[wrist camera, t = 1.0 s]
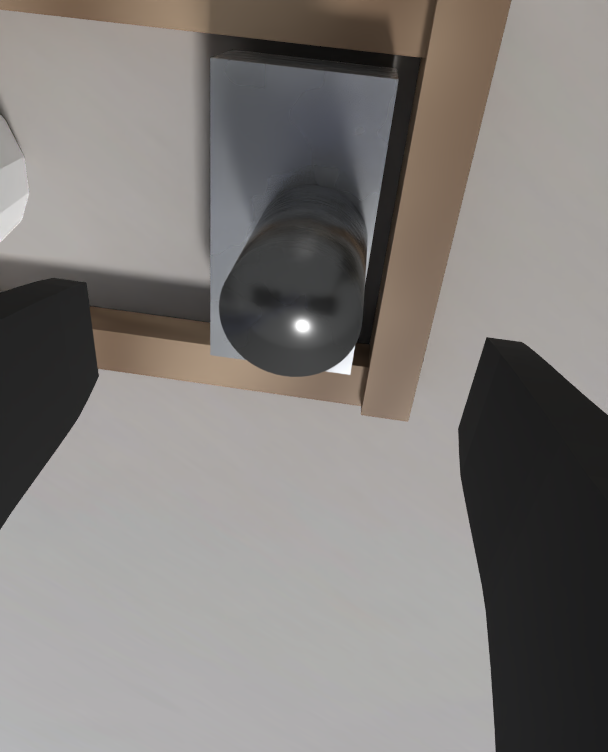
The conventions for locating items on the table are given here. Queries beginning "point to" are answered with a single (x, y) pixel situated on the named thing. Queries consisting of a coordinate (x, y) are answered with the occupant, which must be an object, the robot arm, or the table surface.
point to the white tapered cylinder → (11, 181)
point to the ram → (293, 206)
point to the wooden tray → (413, 199)
